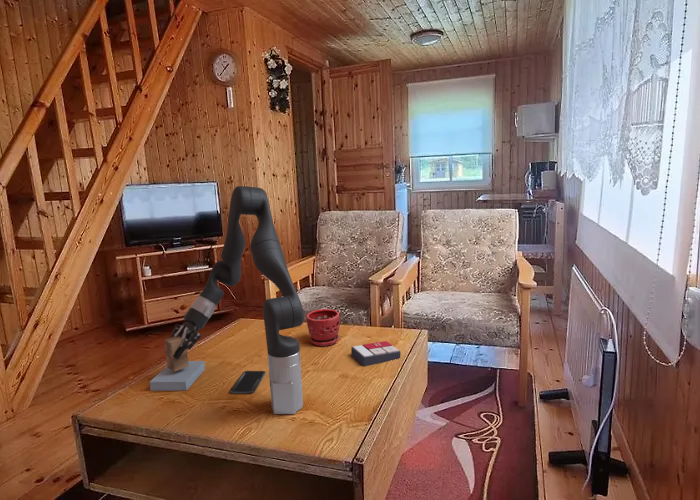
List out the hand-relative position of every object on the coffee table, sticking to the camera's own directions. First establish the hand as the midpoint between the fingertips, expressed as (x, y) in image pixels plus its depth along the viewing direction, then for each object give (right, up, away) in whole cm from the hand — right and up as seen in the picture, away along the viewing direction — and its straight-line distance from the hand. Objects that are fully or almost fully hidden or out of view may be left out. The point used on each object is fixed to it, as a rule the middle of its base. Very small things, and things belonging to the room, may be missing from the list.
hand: (171, 355), depth 152 cm
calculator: (+69, -4, +15) cm, 71 cm away
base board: (+2, -9, +3) cm, 9 cm away
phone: (+26, -9, -2) cm, 28 cm away
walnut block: (+1, -4, +2) cm, 5 cm away
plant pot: (+49, -2, +31) cm, 58 cm away
